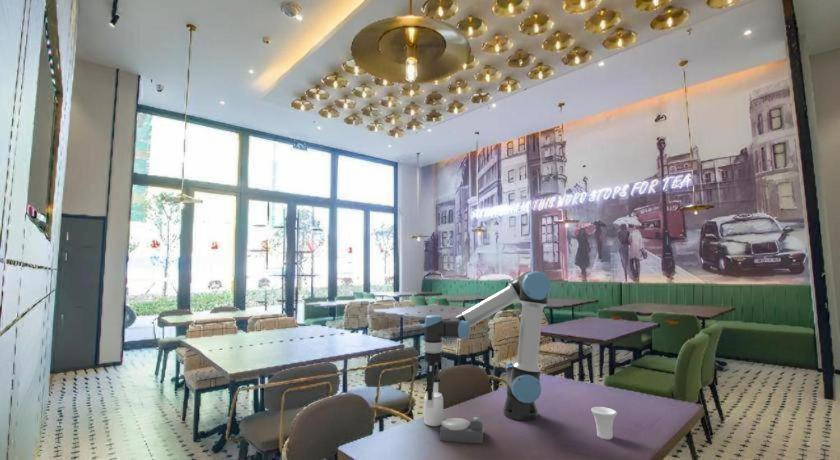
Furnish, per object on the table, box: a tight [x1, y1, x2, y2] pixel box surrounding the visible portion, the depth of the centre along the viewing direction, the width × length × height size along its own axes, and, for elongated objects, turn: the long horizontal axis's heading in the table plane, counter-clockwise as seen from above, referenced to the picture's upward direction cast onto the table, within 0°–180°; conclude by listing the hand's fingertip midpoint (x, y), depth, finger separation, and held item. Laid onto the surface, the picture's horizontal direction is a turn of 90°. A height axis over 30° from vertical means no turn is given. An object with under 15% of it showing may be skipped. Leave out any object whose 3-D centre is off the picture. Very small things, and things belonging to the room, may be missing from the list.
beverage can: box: [423, 391, 444, 427], centre depth 168 cm, size 8×8×12 cm
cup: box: [591, 406, 618, 440], centre depth 153 cm, size 9×9×10 cm
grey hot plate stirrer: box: [439, 414, 484, 444], centre depth 155 cm, size 16×11×8 cm
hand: (432, 402), depth 168 cm, fingers open, 13 cm apart
